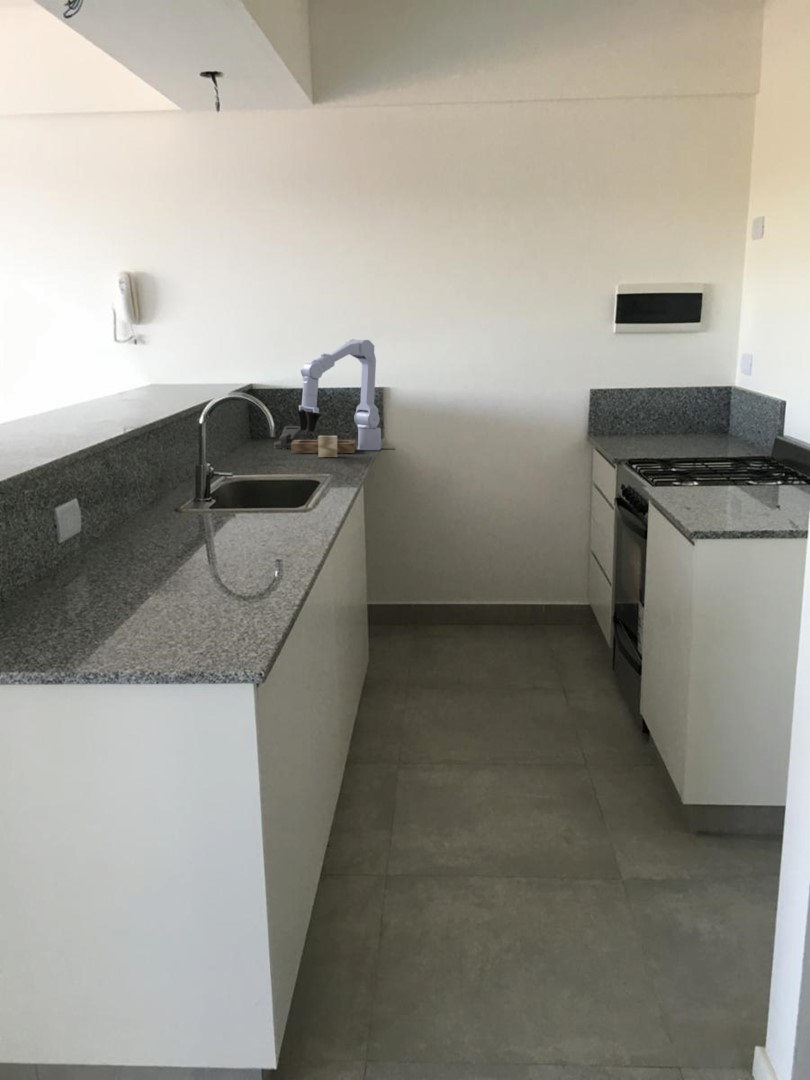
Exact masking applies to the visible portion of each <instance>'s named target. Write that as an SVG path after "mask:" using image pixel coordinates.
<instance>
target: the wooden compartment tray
mask: <svg viewBox="0 0 810 1080" xmlns="http://www.w3.org/2000/svg"><path fill="white" fill-rule="evenodd" d="M356 441H357V440H356V439H355V440H354V439H353V440H352V439H337V453H354V452H355V453H356V451H357V443H356ZM355 450H356V451H355ZM302 453H318V439H295V440H294V441H293V442H292V443H291V449H290V454H302ZM355 453H354V454H355Z"/></svg>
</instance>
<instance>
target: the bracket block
mask: <svg viewBox="0 0 810 1080" xmlns="http://www.w3.org/2000/svg"><path fill="white" fill-rule="evenodd" d="M317 440H318V457H337V458H338V456H337V455H338V454H337V440H338V435H318V436H317Z"/></svg>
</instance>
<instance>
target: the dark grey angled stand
mask: <svg viewBox="0 0 810 1080" xmlns="http://www.w3.org/2000/svg"><path fill="white" fill-rule="evenodd" d="M301 431H302V430H301V429H300V425H299V426H298V425H286V426H284V427H283V430H282V433H281V435H280V436H279V438H278V440H277V441H275V442H274V443H273V449H275V448H291V443H292V442H293V441H294V440H296V439H295V438H296V436H297V435H298V434H299V433H300V432H301Z"/></svg>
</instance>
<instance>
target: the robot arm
mask: <svg viewBox="0 0 810 1080" xmlns="http://www.w3.org/2000/svg"><path fill="white" fill-rule="evenodd" d="M349 355H350V356H352V357H354V358H355V359H357V360H358V361H359V362H360V364H361V383H360V384H361V385H360V403H359V404H358V405H357V406H356V409H355V410H356V411H355V413H354V417H353V420H354V423H355V424H356V427H357V429H358V430H357V432H358V434H357V435H358V436H357V437H358V441H357V443H358V444H357V445H358V446H357V447H356V451H381V448H382V446H383V445H382V428H381V427H378V425H379V424H380V421H381V420H380V419H381V418H380V415H379V408H378V407H377V406H376V404H375V391H376V390H375V389H376V388H375V387H376V370H377V369H376V367H377V366H376V365H377V359H376V355H375V345H374V343H372V341H371V340H370V339H353V338H352V339H350V340H349V341H346V342H345V343H344V344H343V345H342V346H340V347H339V348H337V349H336V350H334V351H333V352H331V353H325V352H324V353H323V352H322V353H321V354H320V357H318V358H316V359H312V360H311V363H310V362H309V363H308V362H307V363H305V364H304V365H302V368H301V369H300V373H301V376H302V381H303V382H302V383H303V384H302V396H301V397H302V398H301V405H298V410H299V411H296V414H297V415H296V416H297V417H298V421H299V426H300V429H301V430H300V431H306V430H307V431H308V432H315V429H316V427H317V424H318V421H319V419H320V418H321V415H322V414H321V413H320V412H319V411H320V407H318V406H317V405H318V404H317V403H318V391H319V380H320V378H322V376H323V374H324V373H326V372H327V371H328V370H330V369H332V368H334V367H335V363H336V362H338V361H340V360H341V359H343V358H345V357H347V356H349Z"/></svg>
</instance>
